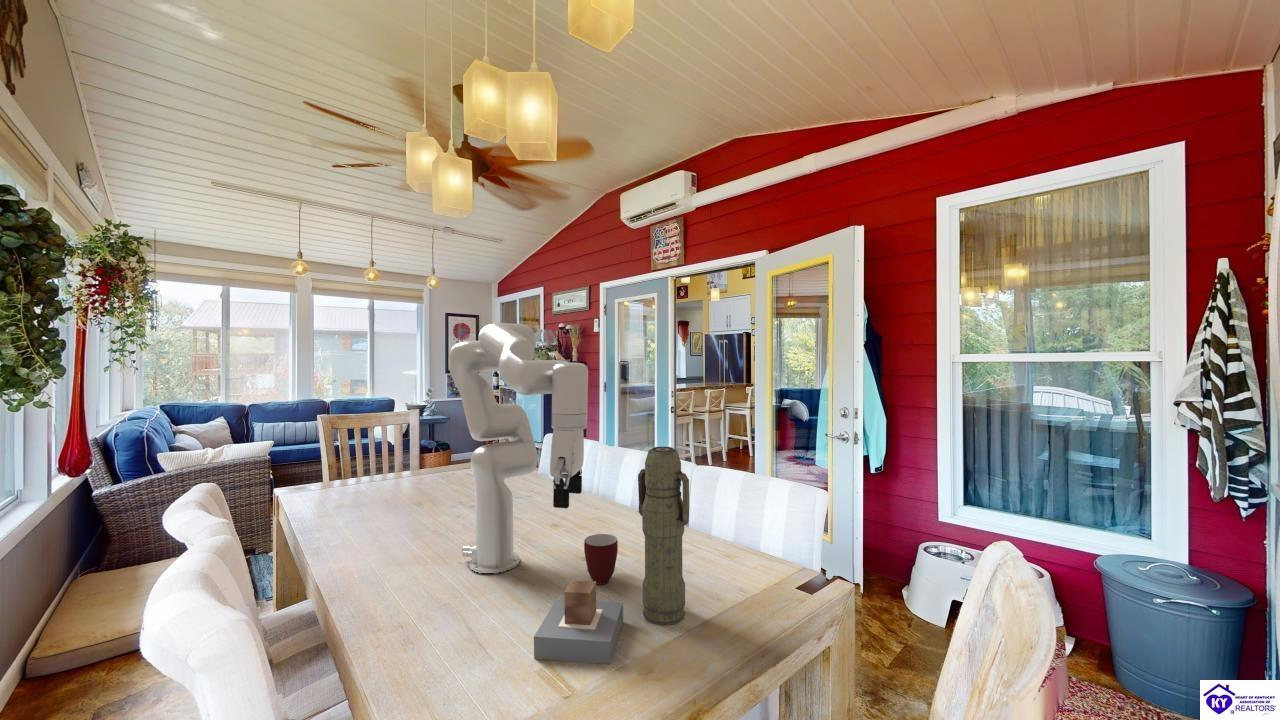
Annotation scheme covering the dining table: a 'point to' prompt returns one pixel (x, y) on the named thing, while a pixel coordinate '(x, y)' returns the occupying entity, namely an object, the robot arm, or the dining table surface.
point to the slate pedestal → (579, 635)
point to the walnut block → (580, 602)
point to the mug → (601, 556)
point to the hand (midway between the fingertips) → (568, 499)
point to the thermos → (663, 534)
